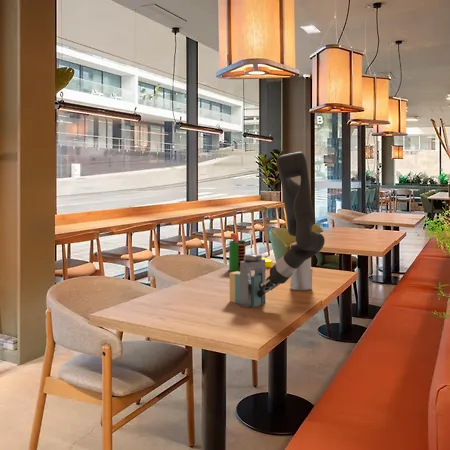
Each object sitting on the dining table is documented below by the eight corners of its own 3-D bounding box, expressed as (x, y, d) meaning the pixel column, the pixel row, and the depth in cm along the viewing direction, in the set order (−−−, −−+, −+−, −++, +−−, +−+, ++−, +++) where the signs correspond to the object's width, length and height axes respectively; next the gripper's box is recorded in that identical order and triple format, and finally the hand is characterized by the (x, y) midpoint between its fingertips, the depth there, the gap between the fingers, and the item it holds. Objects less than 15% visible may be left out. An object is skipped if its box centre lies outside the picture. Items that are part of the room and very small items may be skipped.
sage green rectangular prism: (261, 304, 203) (261, 275, 202) (254, 307, 199) (254, 277, 198) (236, 299, 212) (236, 271, 210) (229, 301, 208) (229, 272, 207)
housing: (268, 303, 205) (268, 254, 203) (250, 308, 197) (250, 258, 195) (254, 300, 209) (254, 253, 207) (237, 305, 201) (237, 256, 199)
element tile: (248, 270, 276) (248, 261, 276) (238, 265, 290) (238, 257, 290) (273, 268, 281) (273, 259, 281) (262, 263, 295) (262, 255, 295)
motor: (243, 272, 269) (243, 234, 267) (227, 271, 271) (227, 234, 269) (246, 268, 279) (246, 232, 277) (231, 268, 281) (230, 232, 279)
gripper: (288, 258, 197) (264, 285, 207) (267, 263, 188) (243, 290, 197) (299, 273, 194) (274, 299, 204) (279, 279, 185) (253, 306, 194)
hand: (259, 295), depth 200 cm, fingers closed
